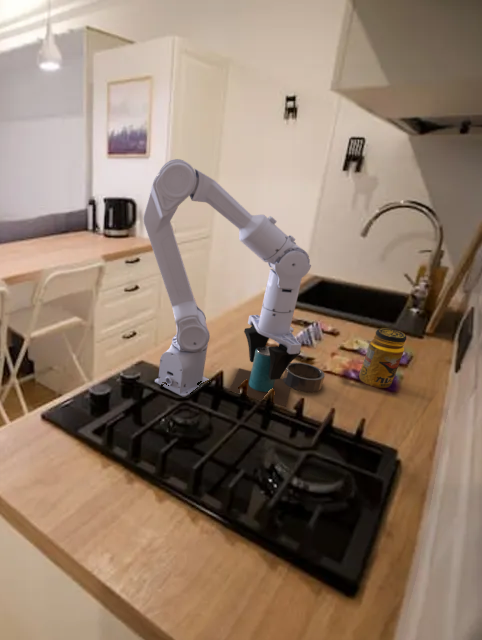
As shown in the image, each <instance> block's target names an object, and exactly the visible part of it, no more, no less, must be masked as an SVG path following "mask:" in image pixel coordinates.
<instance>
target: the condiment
mask: <svg viewBox="0 0 482 640" xmlns="http://www.w3.org/2000/svg"><path fill="white" fill-rule="evenodd" d="M406 341H407V335H406V333H404V332H402V331H399V330H397V329H393V328H385V327H381V328H378V329H376V331H375V334H374V336H373V339H372V340H371V341H369V345H368V347H367V351H366V353H365V356H364V358H363V362H362V365H361V368H360V371H359V374H358V376H359V377H358V378H359V380H360V381H361V382H362V383H364V384H366V385H367V386H370V387H375V388H377V389H379V388H380V389H387V388H390V387H391V385H392V384H393V381H394V379H395V376H396V373H397V371H398V368H399V365H400V363H401V360H402V358H403V356H404V352H405V348H404V346H405V344H406Z"/></svg>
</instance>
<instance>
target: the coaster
mask: <svg viewBox="0 0 482 640" xmlns="http://www.w3.org/2000/svg"><path fill="white" fill-rule="evenodd" d="M250 375H251V370H249V369H244V368H238V369H237V372H236V374H235V376H234V378H233V380H232V382H231V385H230V387H229V389H228V392H229V391H233V392H236V393H240V389H238V387H239V386H240V385H241V383H242V382H243V381H244V380H246V379H247V380H248V391H247V394H248V396H249V397H248V398H251V399H255V400H259V401H262V399H263V398H264V396H265V395H266V394H267V393H268V392H261V391H257V390H255V389H253V388H251V387H250V385H249V380H250ZM273 389H274V391H275V395H274V405H278V406H281V407H286V408H287V406H288V402H289V401H288V400H289V396H290V391H291V388H290V387H289V386H288V385H286V384H285V383H284V381H283V378H282V377H281V378H280V379H275V383H274V387H273ZM236 393H235V394H236Z"/></svg>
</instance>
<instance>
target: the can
mask: <svg viewBox="0 0 482 640" xmlns="http://www.w3.org/2000/svg"><path fill="white" fill-rule="evenodd" d="M269 347H270V345H269V346H268V345H266V346H260V347H258V348H257V349H256V351H255V356H254V361H253V362H252V365H251V370H250V371H251V375H250V380H249V385H250V387H251V388H253V389H255V390H257V391H261V392H268V391H269V390H270V389H272V388H273V387H274V383H275V379H274V380H271V379H270V378H269V370H270V353H269V349H268V348H269Z"/></svg>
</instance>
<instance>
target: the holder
mask: <svg viewBox="0 0 482 640" xmlns="http://www.w3.org/2000/svg"><path fill="white" fill-rule="evenodd" d="M282 376H283V377H282V379H283V381H284V383H285V384H286V385H288V386H289V387H290V389H293V390H295V391H298V392H302V393H317V392H320V390H321V389H322V386H323V383H324V380H325V377H326V376H325V372H324V371H323V370H322V369H320V368H319V367H317V366H315V365H312V364H310V363H306V362H297V361H293V362H291V363H290V364H289V365H288V367H287V368H286V369H285V371H284V373H283V375H282Z"/></svg>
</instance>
